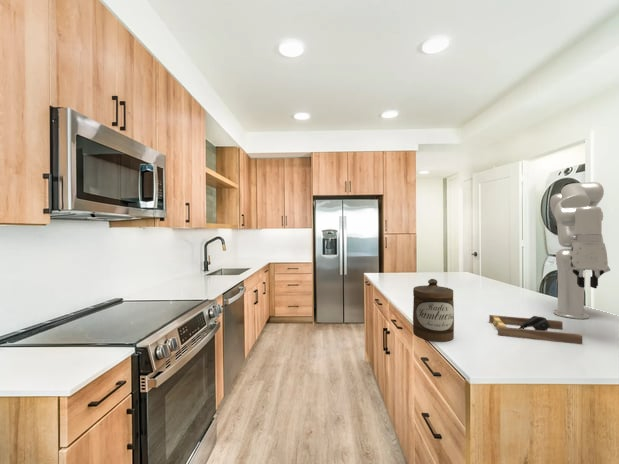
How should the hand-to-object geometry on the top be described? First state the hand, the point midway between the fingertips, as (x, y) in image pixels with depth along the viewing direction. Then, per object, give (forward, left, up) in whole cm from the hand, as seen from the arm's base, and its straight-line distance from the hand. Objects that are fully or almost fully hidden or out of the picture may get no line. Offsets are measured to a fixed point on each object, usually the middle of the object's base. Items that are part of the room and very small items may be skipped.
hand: (587, 286), depth 116 cm
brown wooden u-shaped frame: (0, -18, -19) cm, 26 cm away
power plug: (0, -18, -20) cm, 26 cm away
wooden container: (+17, -55, -20) cm, 61 cm away
